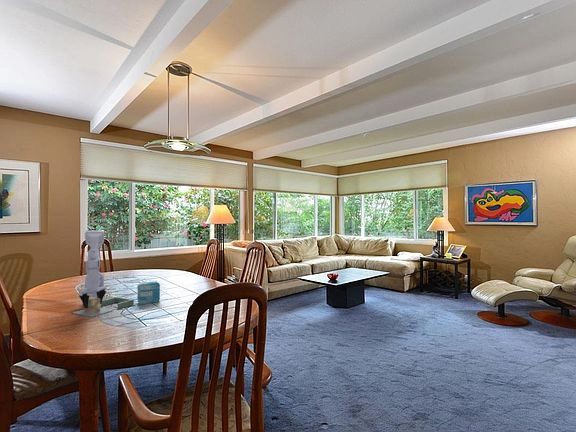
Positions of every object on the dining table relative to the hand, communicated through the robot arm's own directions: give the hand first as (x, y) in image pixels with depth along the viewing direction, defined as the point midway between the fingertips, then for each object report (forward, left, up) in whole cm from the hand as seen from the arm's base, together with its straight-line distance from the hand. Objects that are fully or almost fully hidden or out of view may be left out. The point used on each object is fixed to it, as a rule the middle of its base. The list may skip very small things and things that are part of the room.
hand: (92, 306), depth 172 cm
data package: (+12, +27, -4) cm, 30 cm away
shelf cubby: (0, +14, -3) cm, 14 cm away
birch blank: (0, 0, -3) cm, 3 cm away
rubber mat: (0, 0, -3) cm, 3 cm away
